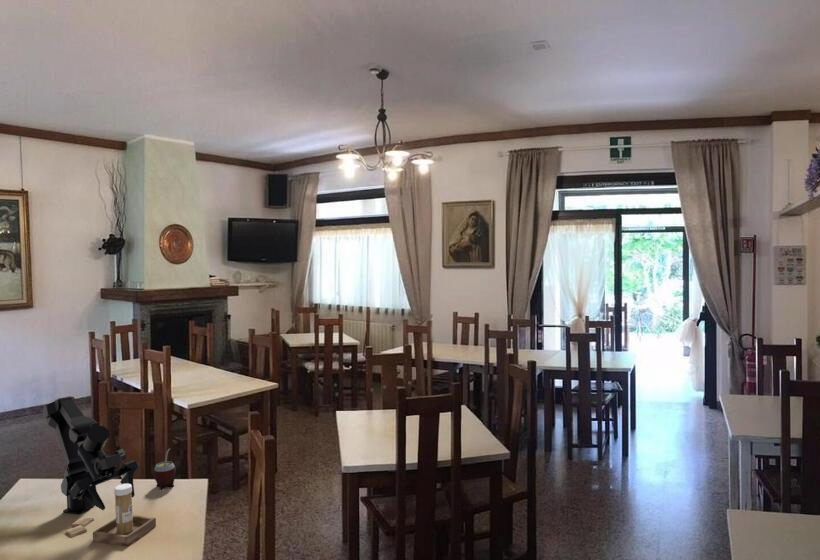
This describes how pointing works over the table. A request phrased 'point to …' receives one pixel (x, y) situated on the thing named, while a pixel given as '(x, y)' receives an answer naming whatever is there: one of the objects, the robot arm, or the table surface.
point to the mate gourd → (165, 473)
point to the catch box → (110, 535)
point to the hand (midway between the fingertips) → (119, 502)
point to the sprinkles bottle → (124, 508)
